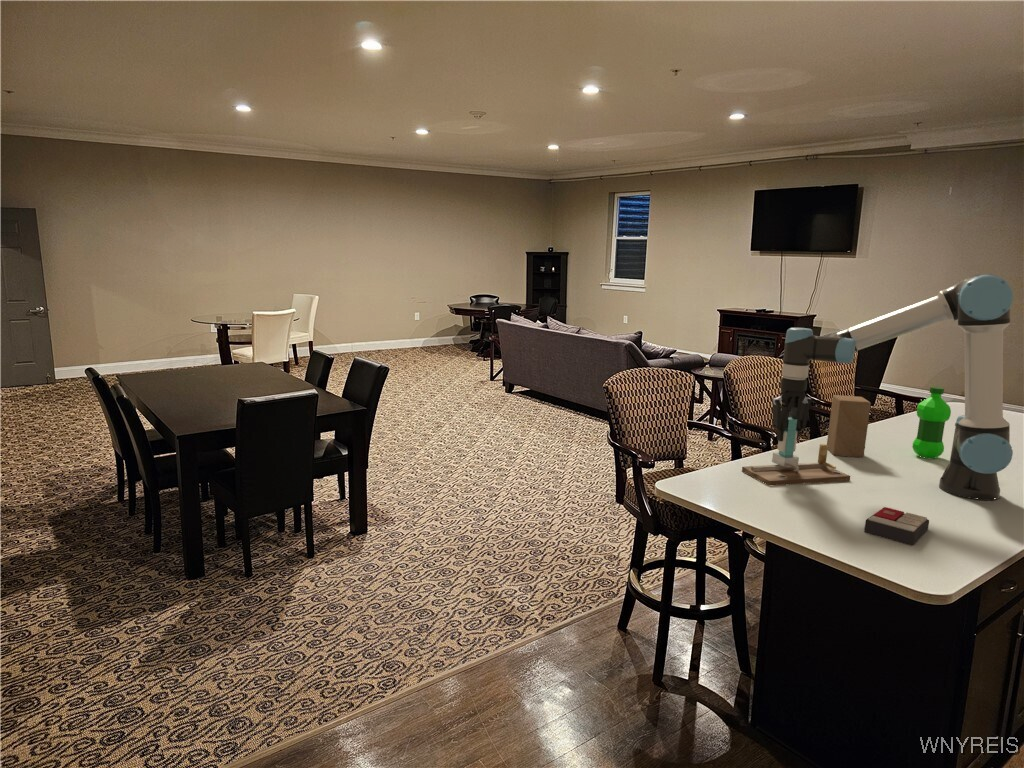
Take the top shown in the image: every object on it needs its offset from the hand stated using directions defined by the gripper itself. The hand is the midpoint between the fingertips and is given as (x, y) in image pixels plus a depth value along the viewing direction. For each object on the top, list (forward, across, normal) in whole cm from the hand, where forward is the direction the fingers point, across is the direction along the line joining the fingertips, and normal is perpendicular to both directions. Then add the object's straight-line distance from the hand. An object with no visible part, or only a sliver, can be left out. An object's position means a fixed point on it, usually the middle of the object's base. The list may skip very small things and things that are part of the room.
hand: (786, 450), depth 211 cm
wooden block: (+8, -38, -17) cm, 42 cm away
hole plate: (+8, -2, +3) cm, 8 cm away
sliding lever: (+6, 0, +2) cm, 6 cm away
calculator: (+8, +1, +46) cm, 47 cm away
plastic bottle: (+8, -65, -8) cm, 66 cm away
